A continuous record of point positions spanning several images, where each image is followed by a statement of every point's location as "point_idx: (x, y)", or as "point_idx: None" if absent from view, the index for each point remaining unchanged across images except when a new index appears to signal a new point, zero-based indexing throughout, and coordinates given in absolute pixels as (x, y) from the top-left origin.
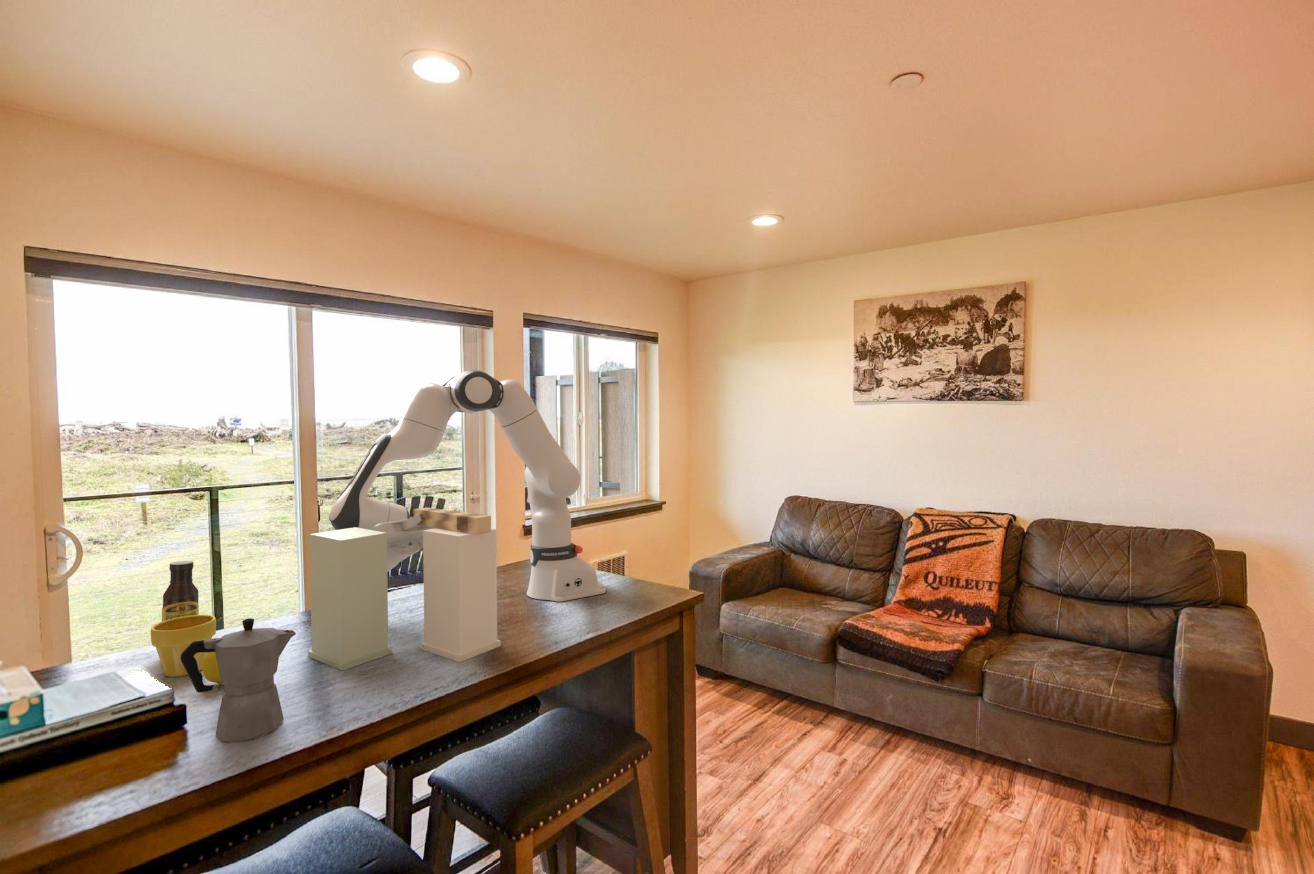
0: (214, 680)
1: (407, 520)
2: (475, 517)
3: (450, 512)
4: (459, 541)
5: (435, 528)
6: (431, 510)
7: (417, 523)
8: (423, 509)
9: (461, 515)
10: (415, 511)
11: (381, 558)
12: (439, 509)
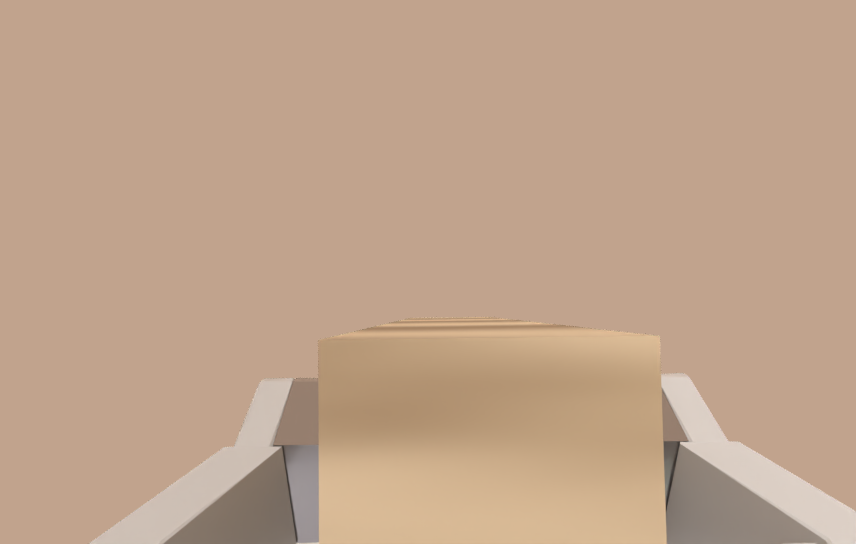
0: None
1: (836, 526)
2: (487, 317)
3: (463, 321)
4: None
5: None
6: (504, 326)
7: (673, 526)
8: (531, 330)
9: (496, 318)
10: (640, 375)
11: None
12: (395, 327)
